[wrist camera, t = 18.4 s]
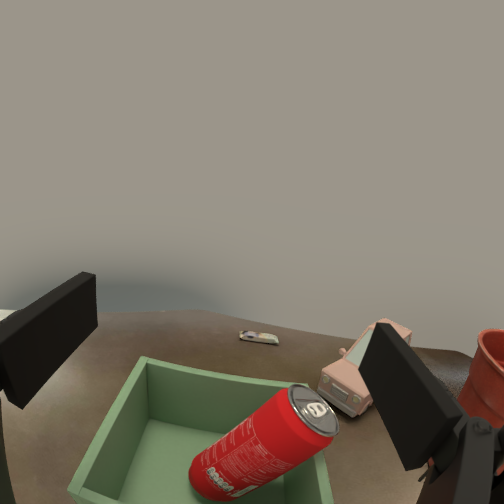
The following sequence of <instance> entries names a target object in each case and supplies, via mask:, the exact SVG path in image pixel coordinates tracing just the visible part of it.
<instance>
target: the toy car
mask: <svg viewBox="0 0 504 504" xmlns="http://www.w3.org/2000/svg"><path fill="white" fill-rule="evenodd" d="M377 322H381V323H390V324H391V325H392V326H393V328H394V329H395V330H396V331H397V332H398V333H399V335H400V336H401V337H402V338H403V339H404V340H405V342H406V343H407V344H408V345H409V346H410V342H411V337H412V331H411V330H409V329H407V328H405V327H402V326H400V325H398V324H396V323H394V322H392V321H390V320H388V319H386V318H383V319H381V320H380V321H377ZM375 325H376V322H375V323H373V324H371V325H369V326H368V327H367V329H366V330H365V331H364V332H363V334H362V335H361V336H360V337H359V339H358V340H357V341H356V342H355V343H354V345H353V346H352V347H351V348H350V349H349V350H348V352H347V353H346V350H345V349H344V348H341V349H339V353H340V354H341V355H343V357H342V359H340V360H338V361H336V362H334V363H332V364H331V365H329V366H327V367H325V368H323V369H322V372H321V377H320V382H319V386H318V390H317V393H318V394H319V395H321V396H322V397H324V398H325V399H326V400H328V401H329V402H331V403H332V404H333V405H335V406H336V407H338V408H339V409H340V410H342V411H343V412H345V413H346V414H348V415H349V416H351V417H355V416H356V415H357V414H359V415H363V414H364V412H365V411H366V410H367V409H368V407H369V406H371V405H372V402H373V399H372V397H371V395H370V393H369V391H368V389H367V387H366V385H365V383H364V381H363V379H362V377H361V375H360V373H359V371H358V368H359V365H360V363H361V361H362V358H363V356H364V353H365V351H366V349H367V346H368V343H369V341H370V338H371V336H372V333H373V330H374V328H375Z"/></svg>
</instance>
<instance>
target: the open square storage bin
mask: <svg viewBox="0 0 504 504" xmlns="http://www.w3.org/2000/svg"><path fill="white" fill-rule="evenodd" d="M292 384H299V383H291V382H281V381H271V380H263V379H255V378H248V377H241V376H235V375H228V374H222V373H216V372H211V371H206V370H200V369H195V368H190V367H186V366H181V365H176V364H172V363H168V362H163V361H159V360H155V359H151V358H148V357H144V356H141V357H140V359H139V361H138V362H137V364H136V366H135V367H134V369H133V371H132V372H131V374H130V376H129V377H128V379H127V381H126V382H125V384H124V386H123V388H122V389H121V391H120V393H119V394H118V396H117V398H116V400H115V401H114V403H113V405H112V407H111V408H110V410H109V412H108V414H107V416H106V417H105V419H104V421H103V423H102V424H101V426H100V428H99V430H98V432H97V433H96V435H95V437H94V439H93V441H92V443H91V445H90V446H89V448H88V450H87V452H86V454H85V456H84V458H83V459H82V461H81V463H80V465H79V467H78V469H77V471H76V473H75V475H74V477H73V479H72V481H71V483H70V485H69V487H68V489H67V491H68V492H69V494H70V495H71V496H72V498H73V499H74V500H75V502H76V503H77V504H334V501H333V496H332V492H331V487H330V482H329V477H328V472H327V468H326V463H325V458H324V454H323V449H322V450H321V451H319V452H318V453H316V454H315V455H313V456H312V457H310V458H309V459H307V460H306V461H304V462H303V463H301V464H299V465H298V466H296V467H295V468H293V469H291V470H290V471H288V472H286V473H285V474H283V475H281V476H279V477H278V478H276V479H274V480H272V481H271V482H269V483H267V484H265V485H263V486H261V487H259V488H257V489H256V490H254V491H252V492H250V493H248V494H246V495H243V496H241V497H239V498H237V499H235V500H232V501H228V502H222V501H211V500H207V499H205V498H203V497H202V496H200V495H199V494H198V493H197V492H196V491H195V490H194V489H193V487H192V486H191V484H190V482H189V478H188V470H189V468H190V466H191V463H192V461H193V459H194V458H195V456H196V455H198V454H199V453H201V452H202V451H204V450H205V449H206V448H208V447H209V446H211V445H212V444H213V443H215V442H216V441H218V440H219V439H220V438H222V437H223V436H224V435H226V434H227V433H228V432H230V431H231V430H232V429H234V428H235V427H236V426H237V425H239V424H240V423H241V422H243V421H244V420H245V419H246V418H248V417H249V416H250V415H251V414H253V413H254V412H255V411H256V410H257V409H259V408H260V407H261V406H262V405H263V404H265V403H266V402H267V401H268V400H269V399H270V398H272V397H273V396H274V395H275V394H276V393H277V392H279V391H280V390H281V389H285V388H289V387H290V386H291V385H292ZM300 384H301V385H304V386H307V387H308V384H303V383H300ZM308 388H309V387H308Z"/></svg>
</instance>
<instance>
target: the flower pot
mask: <svg viewBox="0 0 504 504" xmlns="http://www.w3.org/2000/svg"><path fill="white" fill-rule="evenodd" d="M457 401H458V402H459V403H460V405H461V406H462V407H463V409H464V410H465V411H466V413H467V414H468V415H469V417H470V418H471V417H475V416H477V417H482V418H484V419H486V420H487V421H488V422H489V423H490V424H491V425H492V427H493V428H501V427H502V426H503V425H504V330H500V329H485V330H483V331H481V332H480V333H479V335H478V348H477V351H476V353H475V356H474V358H473V361H472V363H471V366H470V369H469V376H468V378H467V380H466V382H465V384H464V386H463V388H462V390H461V393H460V395H459V397H458V398H457ZM428 462H429V466H431V465H432V464H433V463H434V462H433V460H432V458H431V457H430V459H429V460H428ZM503 471H504V464H503V465H502V466H501V467H500V468H499V469H498V470H497V474H498V475H500V474H501V473H502V472H503Z"/></svg>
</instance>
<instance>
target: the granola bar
mask: <svg viewBox="0 0 504 504" xmlns="http://www.w3.org/2000/svg"><path fill="white" fill-rule="evenodd" d="M239 337H240V338H243V340H249V341H256V342H264V343H279V342H278V340H277V336H274V335H272V334H264V333H257V332H250V331H244V332H243V331H240V336H239Z"/></svg>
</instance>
